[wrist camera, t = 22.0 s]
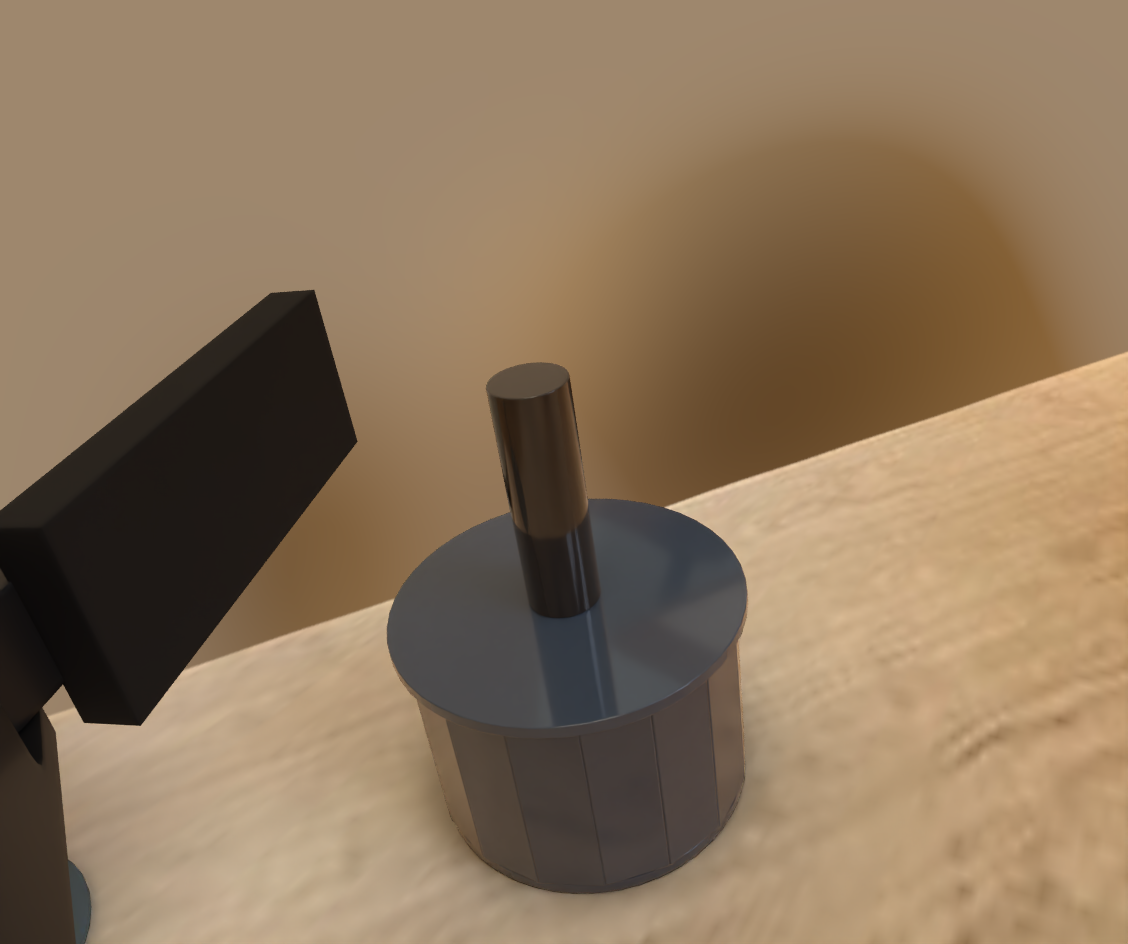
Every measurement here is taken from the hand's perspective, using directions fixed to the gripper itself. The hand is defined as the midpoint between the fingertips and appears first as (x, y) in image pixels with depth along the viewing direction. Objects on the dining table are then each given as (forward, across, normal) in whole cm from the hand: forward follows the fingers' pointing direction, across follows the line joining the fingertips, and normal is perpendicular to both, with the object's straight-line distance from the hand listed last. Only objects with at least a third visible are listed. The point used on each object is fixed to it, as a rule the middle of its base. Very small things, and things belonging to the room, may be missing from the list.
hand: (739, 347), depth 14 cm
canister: (+15, -8, -25) cm, 30 cm away
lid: (+15, -8, -17) cm, 24 cm away
